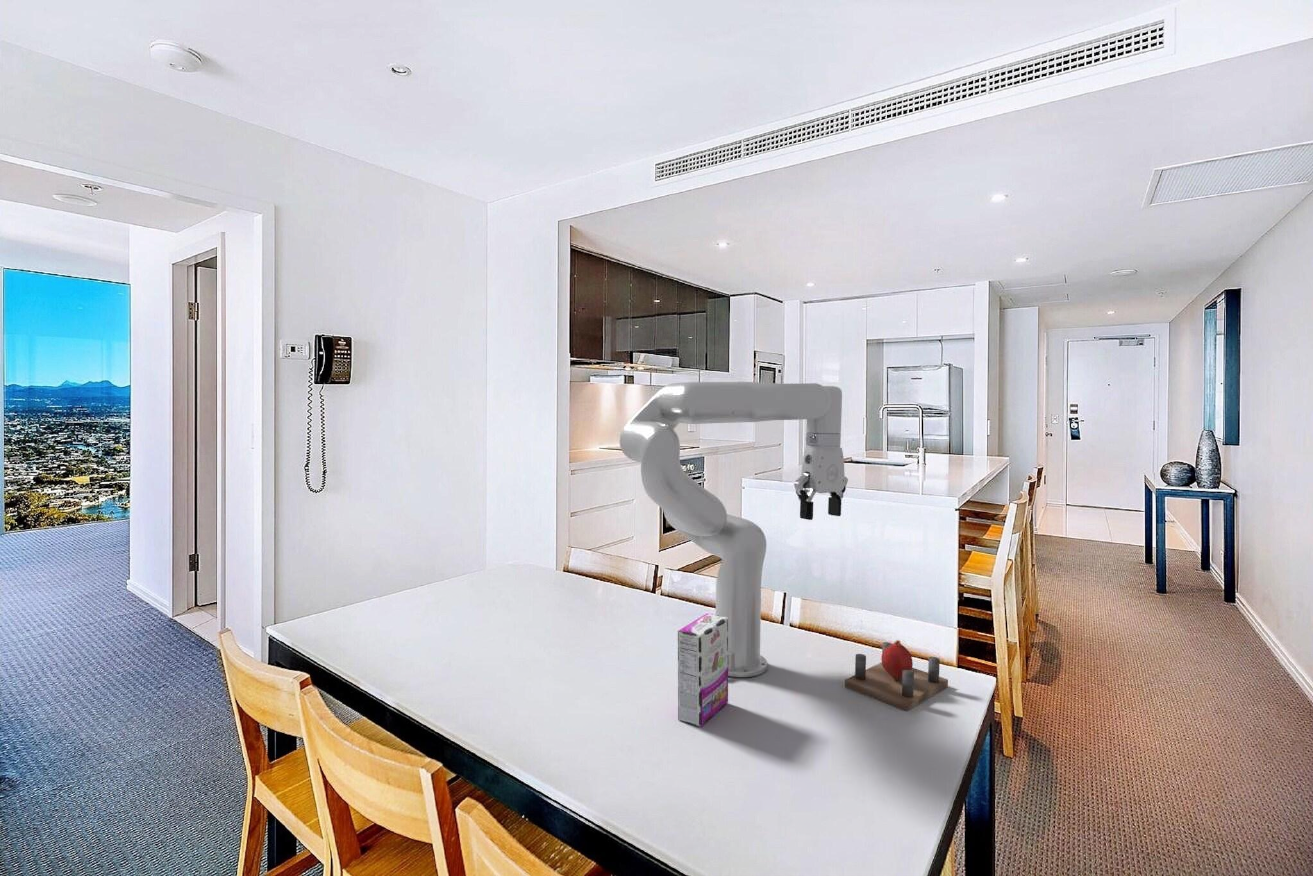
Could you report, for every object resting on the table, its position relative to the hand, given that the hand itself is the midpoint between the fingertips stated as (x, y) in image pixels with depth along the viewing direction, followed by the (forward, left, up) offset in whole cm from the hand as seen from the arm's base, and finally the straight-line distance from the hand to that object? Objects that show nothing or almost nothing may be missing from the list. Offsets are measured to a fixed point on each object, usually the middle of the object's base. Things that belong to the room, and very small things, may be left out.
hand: (820, 517), depth 145 cm
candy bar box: (-41, -4, -31) cm, 51 cm away
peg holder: (-4, -21, -31) cm, 38 cm away
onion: (-4, -21, -29) cm, 36 cm away
